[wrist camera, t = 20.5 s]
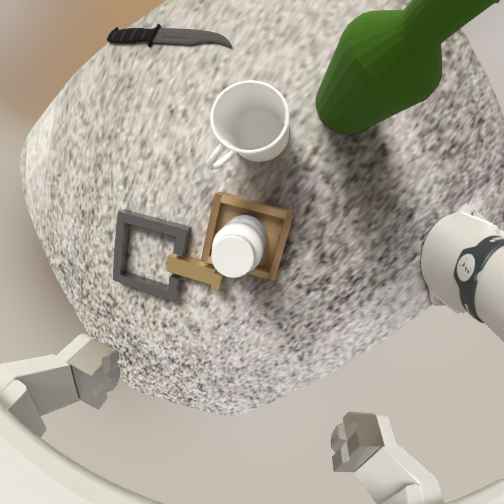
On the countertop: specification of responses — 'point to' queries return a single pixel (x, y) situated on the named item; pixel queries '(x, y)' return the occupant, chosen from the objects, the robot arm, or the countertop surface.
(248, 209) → the tray
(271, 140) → the mug
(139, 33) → the knife
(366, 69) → the wine bottle
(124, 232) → the socket
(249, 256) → the pill bottle
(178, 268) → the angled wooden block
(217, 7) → the countertop surface
